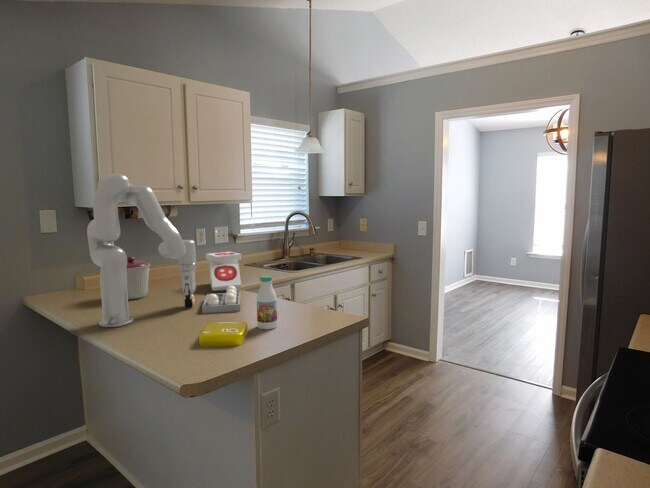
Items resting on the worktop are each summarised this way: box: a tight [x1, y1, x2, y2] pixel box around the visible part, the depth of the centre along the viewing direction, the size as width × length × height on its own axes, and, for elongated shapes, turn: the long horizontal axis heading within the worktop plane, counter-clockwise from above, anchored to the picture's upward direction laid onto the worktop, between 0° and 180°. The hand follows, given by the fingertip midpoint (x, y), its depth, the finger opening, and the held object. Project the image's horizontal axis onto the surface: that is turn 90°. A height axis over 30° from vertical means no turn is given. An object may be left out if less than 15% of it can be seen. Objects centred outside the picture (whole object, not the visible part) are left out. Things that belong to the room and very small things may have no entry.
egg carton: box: [201, 286, 242, 314], centre depth 196 cm, size 24×16×7 cm
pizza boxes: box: [205, 251, 243, 291], centre depth 235 cm, size 19×30×18 cm, turn 18°
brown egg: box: [183, 293, 196, 309], centre depth 194 cm, size 5×5×6 cm
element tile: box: [198, 321, 249, 347], centre depth 151 cm, size 15×15×5 cm
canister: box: [126, 255, 151, 300], centre depth 213 cm, size 18×18×21 cm
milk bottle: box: [256, 275, 278, 330], centre depth 163 cm, size 8×8×20 cm
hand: (189, 305), depth 194 cm, fingers closed on brown egg, 4 cm apart
